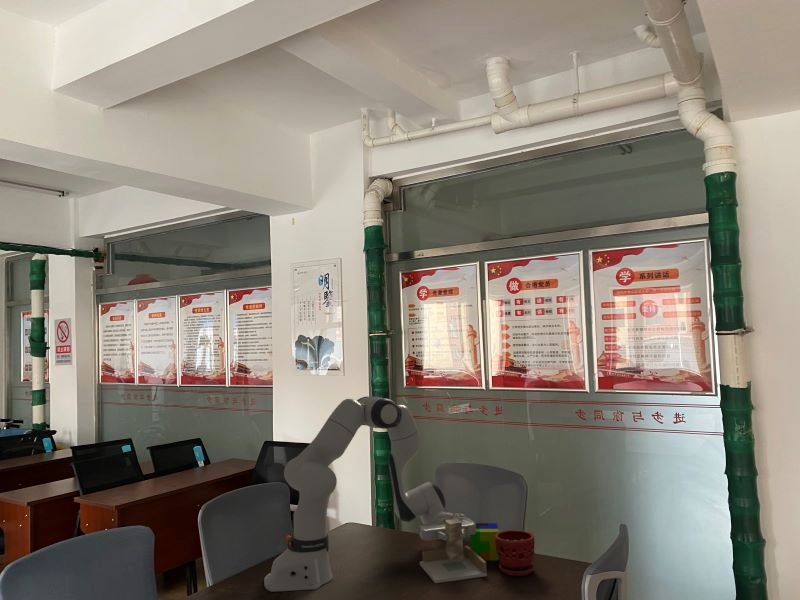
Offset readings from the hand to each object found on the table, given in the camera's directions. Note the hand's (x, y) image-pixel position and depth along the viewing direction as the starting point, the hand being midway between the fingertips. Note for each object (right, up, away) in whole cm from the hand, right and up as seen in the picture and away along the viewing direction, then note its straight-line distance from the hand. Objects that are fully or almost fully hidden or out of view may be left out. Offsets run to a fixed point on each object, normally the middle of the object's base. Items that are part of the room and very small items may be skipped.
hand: (454, 536), depth 210 cm
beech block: (0, -7, +1) cm, 7 cm away
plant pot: (+20, -11, -3) cm, 23 cm away
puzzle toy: (+12, -12, +13) cm, 21 cm away
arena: (-1, -11, -1) cm, 11 cm away
